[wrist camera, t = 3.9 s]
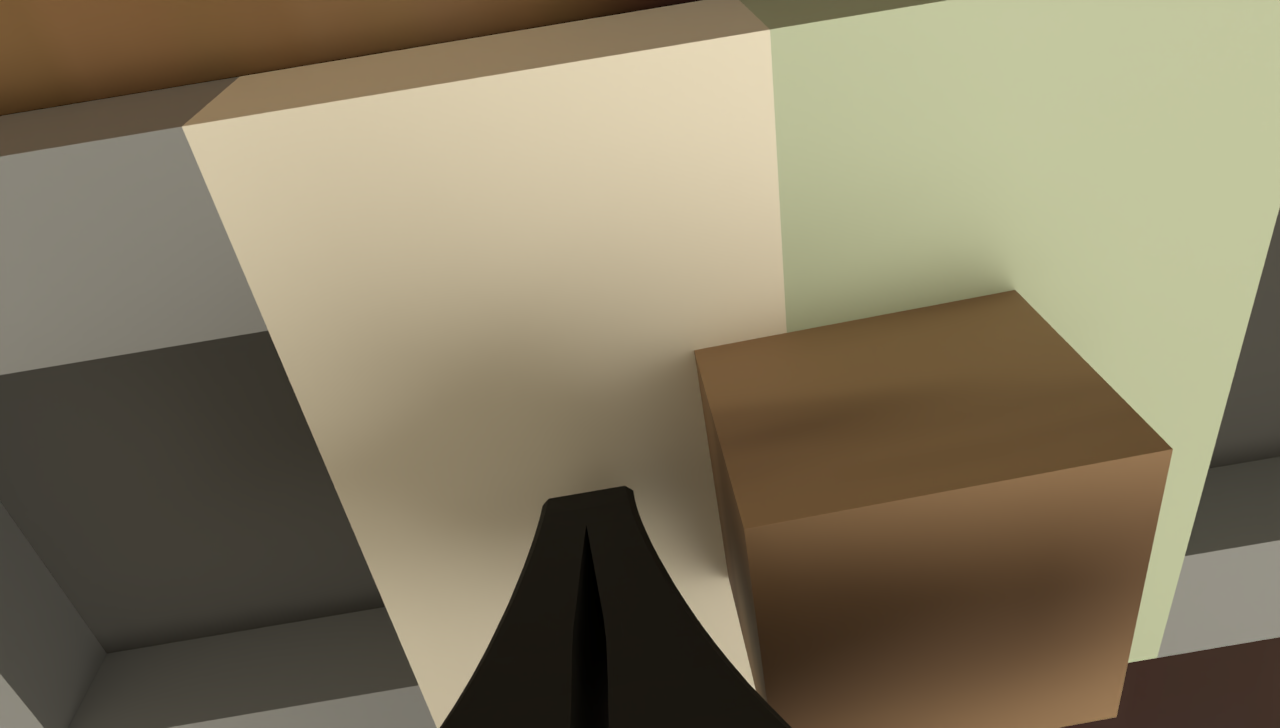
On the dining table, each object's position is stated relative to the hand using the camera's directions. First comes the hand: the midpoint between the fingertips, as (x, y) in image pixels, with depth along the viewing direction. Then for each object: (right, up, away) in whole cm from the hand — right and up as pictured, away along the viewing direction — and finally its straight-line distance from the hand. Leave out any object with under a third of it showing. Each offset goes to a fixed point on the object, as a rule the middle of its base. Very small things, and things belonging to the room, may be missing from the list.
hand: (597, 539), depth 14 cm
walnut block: (+4, +1, +1) cm, 5 cm away
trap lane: (+3, +2, +3) cm, 5 cm away
